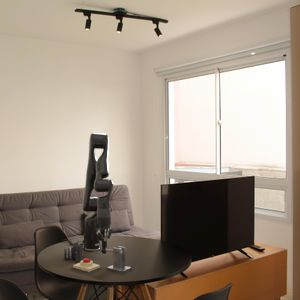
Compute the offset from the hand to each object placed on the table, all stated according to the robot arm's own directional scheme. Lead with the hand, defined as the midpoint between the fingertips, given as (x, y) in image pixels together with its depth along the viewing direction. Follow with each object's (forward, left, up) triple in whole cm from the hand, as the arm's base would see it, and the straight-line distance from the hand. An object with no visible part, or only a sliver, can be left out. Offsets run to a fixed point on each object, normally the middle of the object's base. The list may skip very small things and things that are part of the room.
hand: (104, 247), depth 209 cm
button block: (-4, -10, -10) cm, 15 cm away
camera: (-21, -1, -10) cm, 24 cm away
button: (-4, -10, -6) cm, 13 cm away
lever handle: (+5, 0, -2) cm, 5 cm away
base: (+10, 0, -10) cm, 14 cm away
